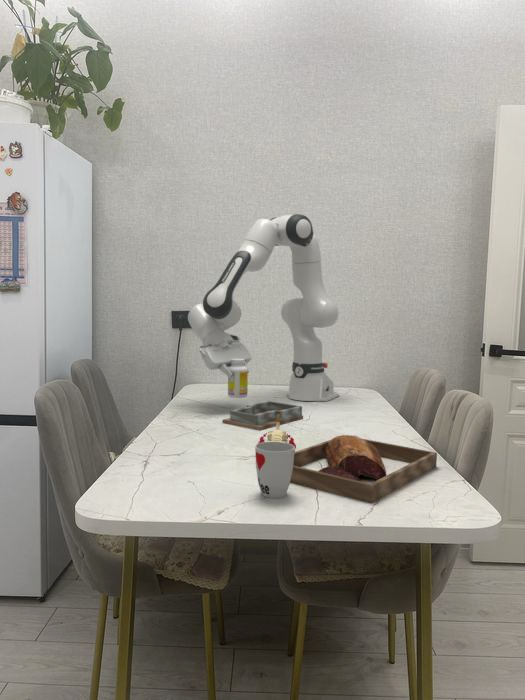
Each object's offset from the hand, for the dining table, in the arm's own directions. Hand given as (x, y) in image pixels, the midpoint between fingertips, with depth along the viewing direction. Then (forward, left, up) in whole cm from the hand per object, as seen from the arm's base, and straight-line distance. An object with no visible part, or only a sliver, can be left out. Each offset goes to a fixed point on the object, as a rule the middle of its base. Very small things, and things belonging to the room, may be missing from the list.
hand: (239, 374), depth 203 cm
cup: (+57, +58, -13) cm, 83 cm away
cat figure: (+31, +39, -14) cm, 51 cm away
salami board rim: (+32, +63, -13) cm, 72 cm away
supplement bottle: (0, -1, -8) cm, 8 cm away
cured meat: (+34, +62, -14) cm, 72 cm away
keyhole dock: (+4, +14, -13) cm, 20 cm away
